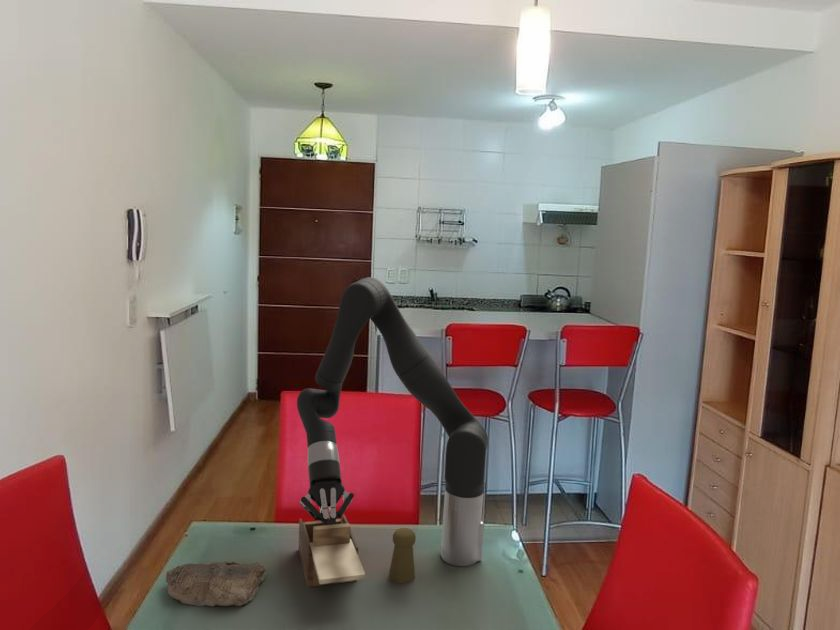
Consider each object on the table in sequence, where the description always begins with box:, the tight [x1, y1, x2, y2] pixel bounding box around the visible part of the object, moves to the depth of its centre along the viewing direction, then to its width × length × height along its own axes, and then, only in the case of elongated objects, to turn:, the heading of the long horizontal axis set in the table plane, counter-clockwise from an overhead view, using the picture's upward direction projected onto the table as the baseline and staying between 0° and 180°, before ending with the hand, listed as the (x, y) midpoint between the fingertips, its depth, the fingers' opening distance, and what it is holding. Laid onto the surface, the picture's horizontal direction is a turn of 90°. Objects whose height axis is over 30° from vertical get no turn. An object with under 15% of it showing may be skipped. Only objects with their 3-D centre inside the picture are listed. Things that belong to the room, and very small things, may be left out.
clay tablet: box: [165, 561, 267, 607], centre depth 138 cm, size 14×5×20 cm
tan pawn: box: [388, 527, 417, 584], centre depth 146 cm, size 6×6×11 cm
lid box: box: [298, 514, 359, 588], centre depth 149 cm, size 11×16×8 cm
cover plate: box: [309, 522, 366, 584], centre depth 137 cm, size 9×15×5 cm, turn 18°
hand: (330, 536), depth 145 cm, fingers closed
